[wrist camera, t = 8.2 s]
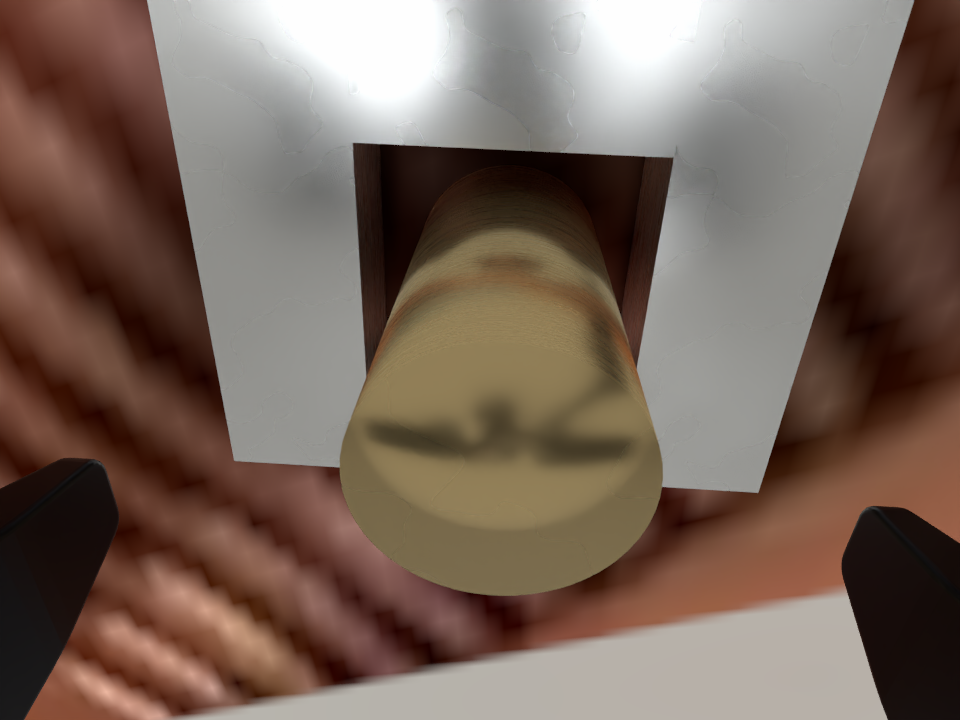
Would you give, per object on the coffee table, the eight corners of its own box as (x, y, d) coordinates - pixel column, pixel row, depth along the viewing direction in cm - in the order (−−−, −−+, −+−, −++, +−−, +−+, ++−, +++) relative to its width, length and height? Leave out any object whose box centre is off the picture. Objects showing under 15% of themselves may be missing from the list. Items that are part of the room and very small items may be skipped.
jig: (1047, -756, 8) (1236, -1016, 6) (728, 428, 17) (758, 492, 15) (96, -764, 9) (-45, -1013, 6) (269, 401, 18) (233, 460, 15)
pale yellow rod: (607, 169, 14) (692, 353, 7) (586, 336, 16) (635, 605, 9) (420, 160, 14) (326, 332, 7) (421, 326, 16) (349, 586, 9)
